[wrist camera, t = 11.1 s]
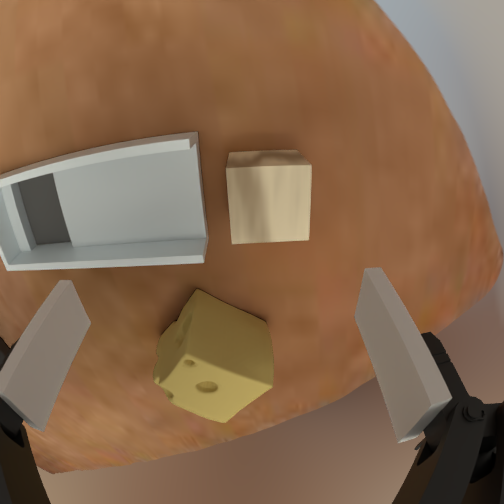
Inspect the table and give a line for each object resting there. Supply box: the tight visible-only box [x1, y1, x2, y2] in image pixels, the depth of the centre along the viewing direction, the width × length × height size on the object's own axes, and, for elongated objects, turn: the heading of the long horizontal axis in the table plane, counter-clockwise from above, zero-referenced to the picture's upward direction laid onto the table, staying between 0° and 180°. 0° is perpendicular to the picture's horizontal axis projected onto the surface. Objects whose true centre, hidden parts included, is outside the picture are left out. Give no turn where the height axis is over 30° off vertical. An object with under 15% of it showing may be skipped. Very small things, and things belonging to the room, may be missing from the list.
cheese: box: [153, 289, 274, 423], centre depth 31 cm, size 10×11×10 cm
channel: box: [0, 131, 209, 271], centre depth 24 cm, size 25×11×4 cm, turn 92°
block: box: [226, 150, 312, 244], centre depth 24 cm, size 6×6×6 cm
